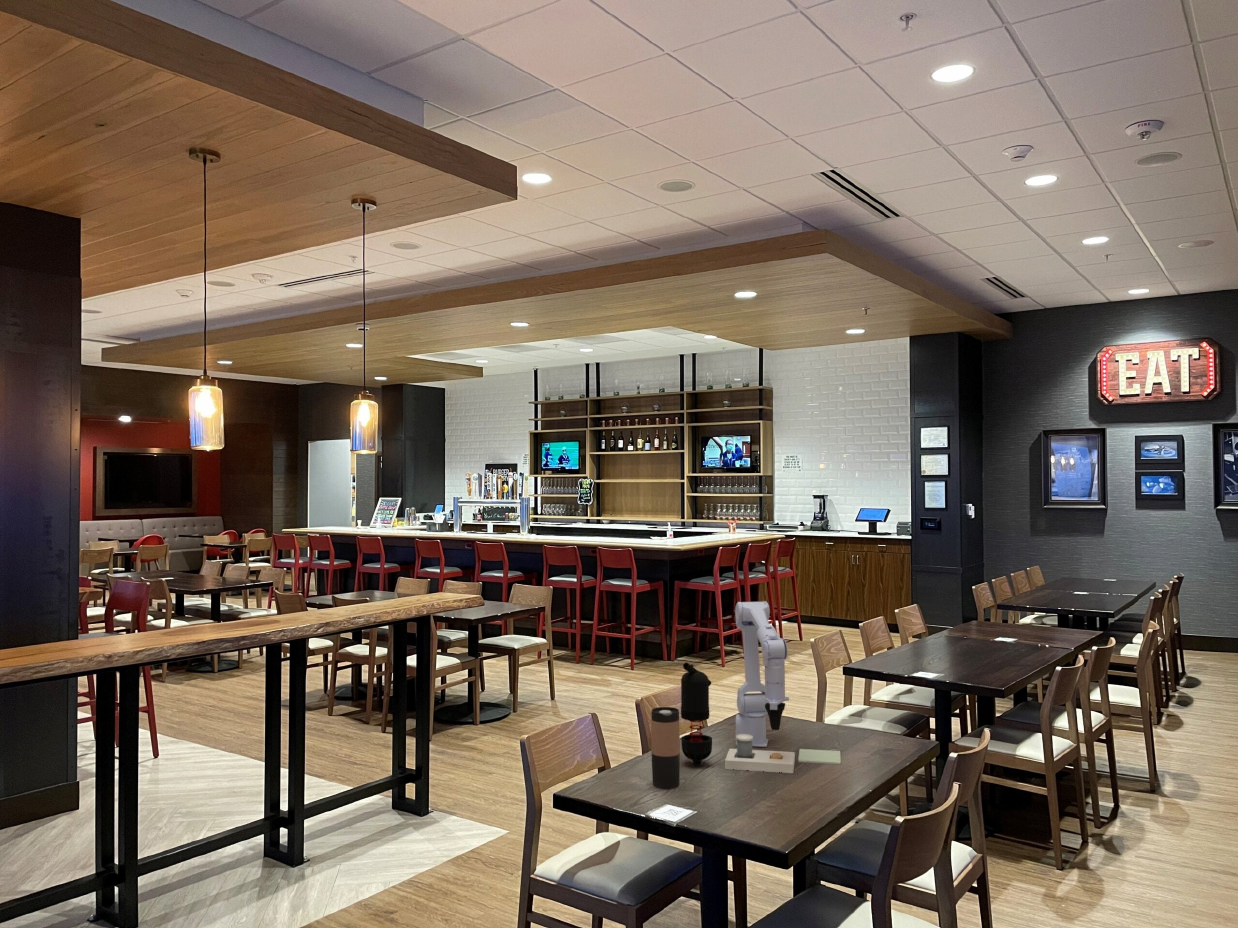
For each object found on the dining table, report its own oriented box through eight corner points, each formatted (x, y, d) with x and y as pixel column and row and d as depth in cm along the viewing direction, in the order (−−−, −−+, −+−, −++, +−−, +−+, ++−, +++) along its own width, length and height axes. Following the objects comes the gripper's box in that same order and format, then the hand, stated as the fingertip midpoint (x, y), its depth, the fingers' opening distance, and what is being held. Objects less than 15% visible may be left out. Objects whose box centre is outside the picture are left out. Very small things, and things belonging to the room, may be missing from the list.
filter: (700, 771, 254) (699, 664, 255) (673, 766, 260) (672, 661, 260) (724, 760, 265) (723, 657, 266) (697, 755, 270) (696, 654, 271)
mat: (798, 761, 263) (798, 760, 263) (799, 750, 274) (799, 748, 274) (840, 764, 260) (840, 762, 260) (840, 752, 272) (840, 750, 272)
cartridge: (735, 765, 260) (735, 737, 260) (737, 761, 264) (736, 733, 264) (752, 766, 258) (752, 738, 259) (753, 762, 263) (753, 734, 263)
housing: (725, 768, 257) (725, 760, 257) (729, 756, 268) (729, 748, 268) (793, 773, 252) (793, 764, 252) (794, 760, 264) (794, 752, 264)
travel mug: (663, 778, 249) (662, 705, 249) (685, 783, 244) (685, 709, 244) (646, 785, 243) (645, 710, 243) (669, 791, 238) (668, 714, 238)
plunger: (771, 764, 258) (770, 755, 258) (771, 761, 261) (771, 752, 261) (780, 764, 258) (780, 755, 258) (781, 761, 260) (781, 753, 260)
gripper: (787, 687, 252) (788, 736, 252) (789, 677, 266) (790, 723, 266) (762, 686, 254) (762, 735, 253) (765, 676, 268) (766, 722, 267)
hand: (775, 729), depth 260 cm, fingers closed
